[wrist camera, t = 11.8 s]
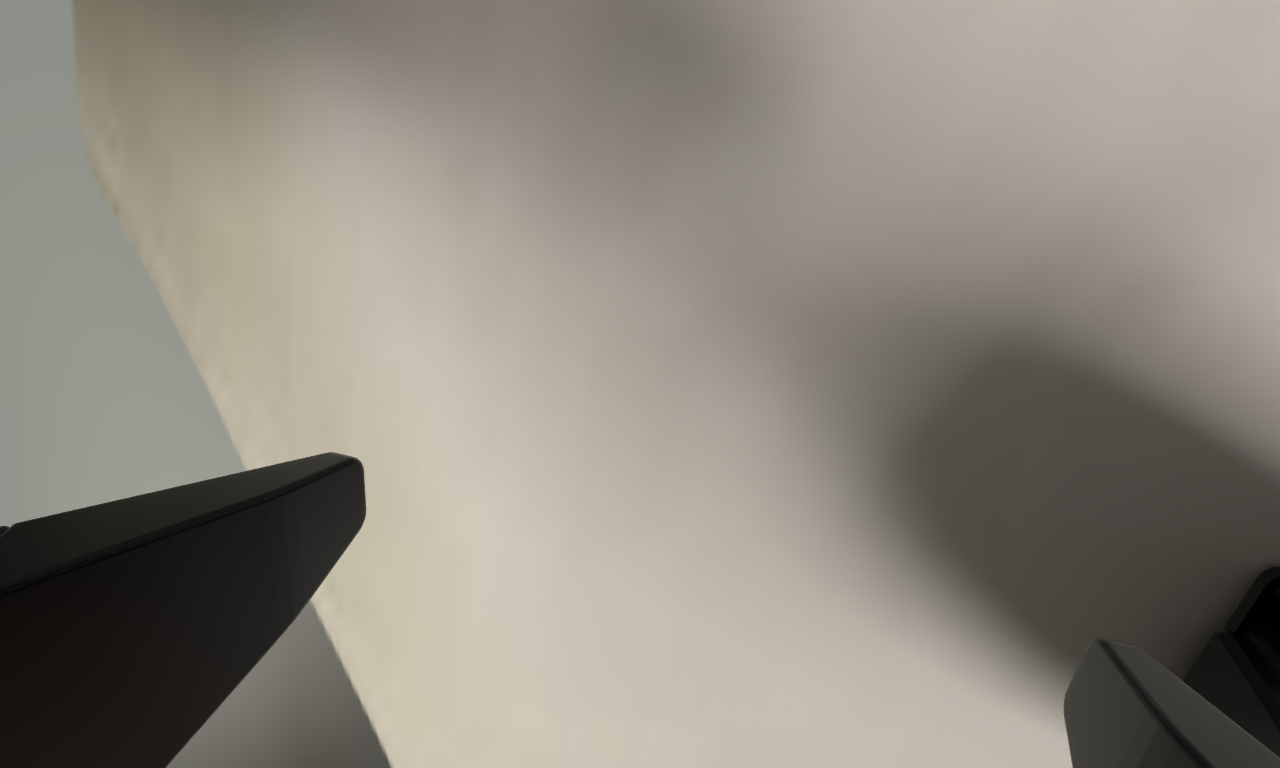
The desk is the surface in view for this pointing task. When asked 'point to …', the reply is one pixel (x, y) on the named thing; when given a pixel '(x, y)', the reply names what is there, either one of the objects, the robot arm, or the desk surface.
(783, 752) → the desk surface
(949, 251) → the desk surface
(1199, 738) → the robot arm
